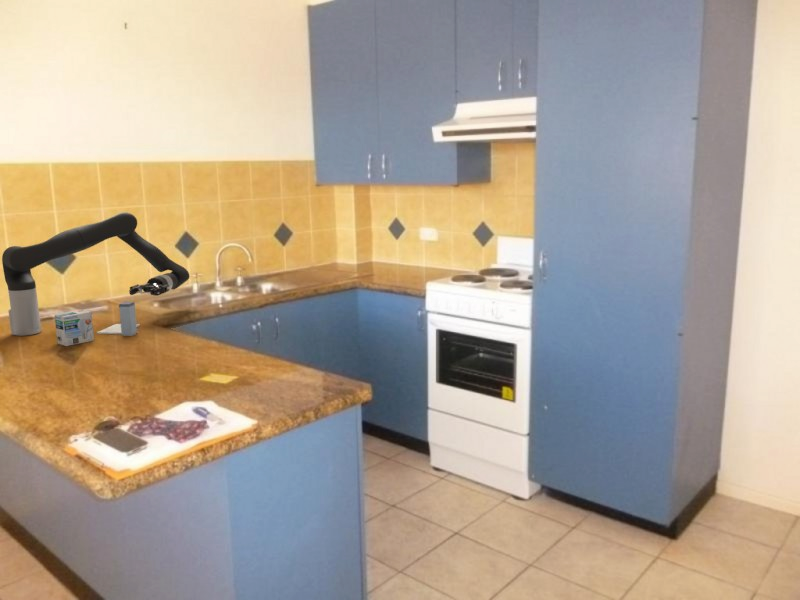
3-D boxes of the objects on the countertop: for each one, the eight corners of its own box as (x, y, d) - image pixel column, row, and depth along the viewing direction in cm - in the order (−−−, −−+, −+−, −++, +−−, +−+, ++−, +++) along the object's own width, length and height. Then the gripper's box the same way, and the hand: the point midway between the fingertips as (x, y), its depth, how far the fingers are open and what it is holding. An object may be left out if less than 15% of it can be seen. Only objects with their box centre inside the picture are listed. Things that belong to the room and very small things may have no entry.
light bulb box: (66, 346, 236) (62, 316, 234) (56, 344, 240) (53, 314, 238) (95, 340, 245) (92, 311, 243) (85, 337, 249) (82, 309, 247)
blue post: (121, 335, 251) (118, 304, 249) (127, 333, 255) (124, 302, 253) (132, 335, 251) (129, 304, 248) (137, 333, 254) (134, 302, 252)
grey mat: (96, 333, 254) (96, 332, 254) (116, 325, 268) (115, 323, 268) (122, 334, 253) (121, 332, 253) (140, 325, 267) (139, 324, 267)
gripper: (142, 275, 277) (122, 283, 261) (175, 275, 275) (157, 282, 260) (144, 293, 278) (124, 301, 263) (177, 293, 277) (159, 301, 261)
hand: (141, 292), depth 261 cm, fingers open, 8 cm apart
